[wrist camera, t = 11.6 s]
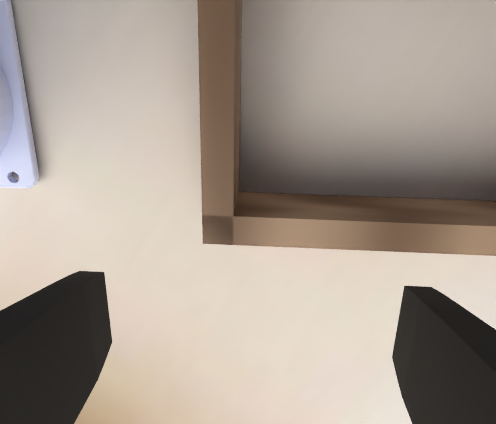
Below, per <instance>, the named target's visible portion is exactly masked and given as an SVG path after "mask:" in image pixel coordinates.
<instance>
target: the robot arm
mask: <svg viewBox="0 0 496 424" xmlns="http://www.w3.org/2000/svg"><path fill="white" fill-rule="evenodd" d="M13 172H15V173H16V174H18V176H19V180H16V179H15V178H14V177H13V175H12V173H13ZM38 181H39V171H38V165H37V159H36V153H35V147H34V141H33V135H32V128H31V122H30V116H29V110H28V104H27V98H26V92H25V85H24V79H23V73H22V67H21V61H20V55H19V49H18V42H17V36H16V30H15V24H14V18H13V12H12V6H11V1H10V0H0V187H7V188H31V187H33V186H34V185H36V184H37V183H38ZM111 344H112V337H111V328H110V319H109V311H108V302H107V294H106V285H105V276H104V272H88V271H79V272H76V273H74V274H71V275H69V276H67V277H65V278H63V279H61V280H59V281H57V282H55V283H53V284H51V285H49V286H47V287H45V288H43V289H41V290H39V291H37V292H36V293H34V294H32V295H30V296H28V297H26V298H24V299H22V300H20V301H18V302H16V303H14V304H13V305H11V306H9V307H7V308H5V309H3V310H1V311H0V424H74V423H75V421H76V419H77V417H78V415H79V413H80V412H81V410H82V408H83V406H84V404H85V402H86V401H87V399H88V397H89V395H90V393H91V391H92V389H93V388H94V386H95V384H96V382H97V380H98V378H99V375H100V373H101V370H102V368H103V365H104V363H105V360H106V357H107V355H108V352H109V349H110V346H111ZM392 358H393V362H394V366H395V371H396V375H397V379H398V383H399V387H400V390H401V394H402V398H403V400H404V403H405V406H406V408H407V411H408V413H409V416H410V418H411V421H412V424H496V330H495V329H494V328H492V327H491V326H489V325H488V324H486V323H485V322H483V321H482V320H481V319H479V318H478V317H476V316H475V315H473V314H472V313H470V312H469V311H467V310H466V309H465V308H463V307H462V306H460V305H459V304H457V303H456V302H454V301H453V300H451V299H450V298H448V297H447V296H445V295H444V294H442V293H440V292H439V291H437V290H435V289H434V288H432V287H418V286H404V292H403V298H402V303H401V309H400V315H399V321H398V327H397V332H396V338H395V344H394V350H393V356H392Z"/></svg>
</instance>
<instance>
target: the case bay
mask: <svg viewBox="0 0 496 424" xmlns="http://www.w3.org/2000/svg"><path fill="white" fill-rule="evenodd" d="M241 14H242V0H198V38H199V85H200V132H201V179H202V226H203V244H226V245H250V246H274V247H298V248H322V249H346V250H370V251H394V252H418V253H442V254H466V255H490V256H496V201H478V200H450V199H422V198H394V197H366V196H338V195H310V194H282V193H254V192H239V182H240V98H241Z"/></svg>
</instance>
